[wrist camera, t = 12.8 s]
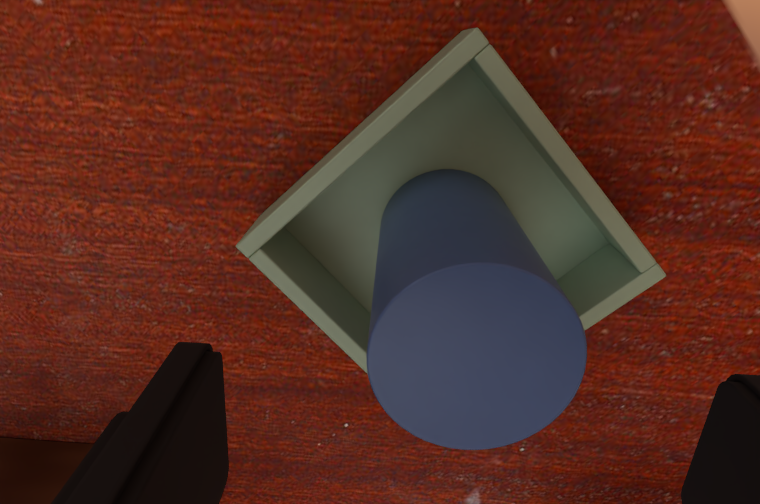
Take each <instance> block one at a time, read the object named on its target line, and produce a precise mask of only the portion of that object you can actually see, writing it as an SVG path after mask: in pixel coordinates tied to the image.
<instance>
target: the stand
mask: <svg viewBox="0 0 760 504" xmlns="http://www.w3.org/2000/svg"><path fill="white" fill-rule="evenodd" d="M93 445H94V444H86V443H72V442H58V441H44V440H31V439H17V438H3V437H0V504H51V503H52V501H53V500H54V498H55V497H56V496H57V494H58V493H59V492H60V490H61V489H62V488H63V486H64V485H65V483H66V482H67V481H68V479H69V478H70V477H71V475H72V474H73V472H74V471H75V470H76V468H77V467H78V466H79V464H80V463H81V461H82V460H83V459H84V457H85V456H86V455H87V453H88V452H89V451H90V449H91V448H92V446H93Z"/></svg>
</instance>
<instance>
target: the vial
mask: <svg viewBox="0 0 760 504" xmlns="http://www.w3.org/2000/svg"><path fill="white" fill-rule="evenodd" d="M366 357H367V372H368V377H369V381H370V384H371V387H372V390H373V392H374V394H375V396H376V398H377V400H378V402H379V403H380V404H381V406H382V407H383V409H384V410H385V412H386V413H387V414H388V415H389V416H390V417H391V418H392V419H393V420H394V421H395V422H396V423H397V424H399V425H400V426H401V427H402V428H403V429H405V430H406V431H408V432H410V433H411V434H413V435H414V436H416V437H419V438H421V439H423V440H425V441H427V442H430V443H433V444H436V445H439V446H444V447H448V448H454V449H462V450H481V449H491V448H496V447H502V446H505V445H509V444H512V443H515V442H518V441H520V440H523V439H525V438H528V437H529V436H531V435H533V434H535V433H537V432H539V431H540V430H542V429H543V428H544V427H546V426H547V425H549V424H550V423H551V422H552V421H553V420H555V419H556V418H557V417H558V416H559V415H560V414H561V413H562V412H563V411H564V409H565V408H566V407H567V406H568V405H569V403H570V402H571V400H572V399H573V397H574V396H575V394H576V392H577V390H578V388H579V386H580V384H581V381H582V378H583V375H584V372H585V366H586V360H587V343H586V337H585V332H584V328H583V325H582V322H581V320H580V318H579V316H578V314H577V312H576V310H575V308H574V307H573V305H572V304H571V302H570V301H569V299H568V298H567V296H566V295H565V293H564V292H563V290H562V289H561V287H560V286H559V284H558V282H557V281H556V279H555V278H554V276H553V275H552V273H551V272H550V270H549V269H548V267H547V266H546V264H545V263H544V261H543V260H542V258H541V257H540V255H539V254H538V252H537V251H536V249H535V248H534V246H533V245H532V243H531V241H530V240H529V238H528V237H527V235H526V234H525V232H524V231H523V229H522V228H521V226H520V225H519V223H518V222H517V220H516V219H515V217H514V216H513V214H512V213H511V211H510V210H509V208H508V207H507V205H506V203H505V202H504V200H503V199H502V198H501V196H500V195H499V193H498V192H497V191H496V190H495V189H494V188H493V187H492V186H491V185H490V184H489V183H488V182H486V181H485V180H483V179H482V178H480V177H478V176H476V175H474V174H471V173H469V172H465V171H461V170H454V169H441V170H433V171H430V172H426V173H423V174H421V175H418V176H416V177H414V178H413V179H411V180H409V181H408V182H406V183H405V184H404V185H402V186H401V187H400V188H399V189H398V190H397V191H396V192H395V194H394V195H393V196H392V197H391V199H390V200H389V202H388V204H387V206H386V208H385V210H384V213H383V216H382V220H381V226H380V234H379V243H378V253H377V262H376V271H375V280H374V290H373V299H372V308H371V317H370V327H369V336H368V345H367V354H366Z"/></svg>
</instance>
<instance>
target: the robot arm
mask: <svg viewBox="0 0 760 504" xmlns="http://www.w3.org/2000/svg"><path fill="white" fill-rule="evenodd" d="M228 469H229V461H228V444H227V428H226V411H225V395H224V378H223V362H222V355H221V353H220V352H213V349H212V346H211V345H210V344H207V343H190V342H178V343H177V344H176V345H175V347H174V348H173V349H172V351H171V352H170V354H169V355H168V357H167V358H166V359H165V361H164V362H163V364H162V365H161V367H160V368H159V369H158V371H157V372H156V374H155V375H154V377H153V378H152V379H151V381H150V382H149V384H148V385H147V387H146V388H145V389H144V391H143V392H142V394H141V395H140V397H139V398H138V399H137V401H136V402H135V404H134V405H133V407H132V408H131V409H130V411H129V412H121V413H118V414H117V415H116V416H115V417H114V418H113V419H112V420H111V422H110V423H109V424H108V426H107V427H106V429H105V430H104V431H103V433H102V434H101V435H100V437H99V438H98V440H97V441H96V442H95V444H94V445H93V446H92V448H91V449H90V451H89V452H88V453H87V455H86V456H85V457H84V459H83V460H82V461H81V463H80V464H79V466H78V467H77V468H76V470H75V471H74V472H73V474H72V475H71V477H70V478H69V479H68V481H67V482H66V483H65V485H64V486H63V488H62V489H61V490H60V492H59V493H58V494H57V496H56V497H55V498H54V500H53V501H52V503H51V504H219V502H220V499H221V496H222V493H223V491H224V488H225V485H226V481H227V477H228ZM681 499H682V504H760V375H743V374H734V375H731V376H730V377H729V378H728V379H727V380H726V381H725V382H722V383H721V384H720V385H719V386H718V388H717V391H716V394H715V397H714V399H713V402H712V405H711V408H710V411H709V414H708V416H707V419H706V422H705V425H704V428H703V431H702V433H701V436H700V439H699V442H698V445H697V448H696V450H695V453H694V456H693V459H692V462H691V465H690V467H689V470H688V473H687V476H686V479H685V482H684V484H683V487H682V491H681Z"/></svg>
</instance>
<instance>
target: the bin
mask: <svg viewBox="0 0 760 504" xmlns="http://www.w3.org/2000/svg"><path fill="white" fill-rule="evenodd" d="M441 169H454V170H461V171H465V172H469V173H471V174H474V175H476V176H478V177H480V178H482V179H483V180H485V181H486V182H488V183H489V184H490V185H491V186H492V187H493V188H494V189H495V190H496V191H497V192H498V193H499V195H500V196H501V198H502V199H503V200H504V202H505V203H506V205H507V207H508V208H509V210H510V211H511V213H512V214H513V216H514V217H515V219H516V220H517V222H518V223H519V225H520V226H521V228H522V229H523V231H524V232H525V234H526V235H527V237H528V238H529V240H530V241H531V243H532V245H533V246H534V248H535V249H536V251H537V252H538V254H539V255H540V257H541V258H542V260H543V261H544V263H545V264H546V266H547V267H548V269H549V270H550V272H551V273H552V275H553V276H554V278H555V279H556V281H557V282H558V284H559V286H560V287H561V289H562V290H563V292H564V293H565V295H566V296H567V298H568V299H569V301H570V302H571V304H572V305H573V307H574V308H575V310H576V312H577V314H578V316H579V318H580V320H581V322H582V325H583V328H584V331H585V330H586V329H588V328H589V327H591V326H592V325H594V324H595V323H597V322H598V321H600V320H601V319H603V318H604V317H606V316H607V315H609V314H610V313H612V312H613V311H615V310H616V309H618V308H619V307H621V306H622V305H624V304H625V303H627V302H628V301H630V300H631V299H633V298H634V297H636V296H637V295H639V294H640V293H642V292H643V291H645V290H646V289H648V288H649V287H651V286H652V285H654V284H655V283H657V282H658V281H660V280H661V279H663V278H664V277H666V274H665V272H664V271H663V270H662V268H661V267H660V266H659V264H658V263H656V261H655V259H654V258H653V257H652V255H651V254H650V253H649V251H648V250H647V249H646V247H645V246H644V245H643V244H642V242H641V241H640V240H639V238H638V237H637V236H636V234H635V233H634V232H633V230H632V229H631V228H630V226H629V225H628V224H627V223H626V221H625V220H624V219H623V217H622V216H621V215H620V213H619V212H618V211H617V209H616V208H615V207H614V205H613V204H612V203H611V202H610V200H609V199H608V198H607V196H606V195H605V194H604V192H603V191H602V190H601V188H600V187H599V186H598V184H597V183H596V182H595V180H594V179H593V178H592V177H591V175H590V174H589V173H588V171H587V170H586V169H585V167H584V166H583V165H582V163H581V162H580V161H579V159H578V158H577V157H576V156H575V154H574V153H573V152H572V150H571V149H570V148H569V146H568V145H567V144H566V142H565V141H564V140H563V138H562V137H561V136H560V135H559V133H558V132H557V131H556V129H555V128H554V127H553V125H552V124H551V123H550V121H549V120H548V119H547V117H546V116H545V115H544V114H543V112H542V111H541V110H540V108H539V107H538V106H537V104H536V103H535V102H534V100H533V99H532V98H531V96H530V95H529V94H528V92H527V91H526V90H525V89H524V87H523V86H522V85H521V83H520V82H519V81H518V79H517V78H516V77H515V75H514V74H513V73H512V71H511V70H510V69H509V68H508V66H507V65H506V64H505V62H504V61H503V60H502V58H501V57H500V56H499V54H498V53H497V52H496V50H495V49H494V48H493V47H492V45H490V44H489V42H488V40H487V39H486V37H485V36H484V35H483V33H482V32H481V31H480V29H479V28H472V29H467V30H462V31H461V32H460V33H459V34H458V35H457V36H456V37H455V38H454V39H453V40H451V41H450V42H449V43H448V44H447V45H446V46H445V47H444V48H443V49H442V50H441V51H439V52H438V53H437V54H436V55H435V56H434V57H433V58H432V59H431V60H430V61H428V62H427V63H426V64H425V65H424V66H423V67H422V68H421V69H420V70H419V71H418V72H416V73H415V74H414V75H413V76H412V77H411V78H410V79H409V80H408V81H407V82H406V83H404V84H403V85H402V86H401V87H400V88H399V89H398V90H397V91H396V92H395V93H393V94H392V95H391V96H390V97H389V98H388V99H387V100H386V101H385V102H384V103H383V104H381V105H380V106H379V107H378V108H377V109H376V110H375V111H374V112H373V113H372V114H371V115H369V116H368V117H367V118H366V119H365V120H364V121H363V122H362V123H361V124H360V125H358V126H357V127H356V128H355V129H354V130H353V131H352V132H351V133H350V134H349V135H348V136H346V137H345V138H344V139H343V140H342V141H341V142H340V143H339V144H338V145H337V146H335V147H334V148H333V149H332V150H331V151H330V152H329V153H328V154H327V155H326V156H325V157H323V158H322V159H321V160H320V161H319V162H318V163H317V164H316V165H315V166H314V167H313V168H311V169H310V170H309V171H308V172H307V173H306V174H305V175H304V176H303V177H302V178H300V179H299V180H298V181H297V182H296V183H295V184H294V185H293V186H292V187H291V188H290V189H288V190H287V191H286V192H285V193H284V194H283V195H282V196H281V197H280V198H279V199H278V200H276V201H275V202H274V203H273V204H272V205H271V206H270V207H269V208H268V209H267V210H265V211H264V212H263V213H262V214H261V215H260V216H259V218H258V219H257V220H256V221H255V223H254V224H253V225H252V226H251V228H250V229H249V230H248V231H247V232H246V234H245V235H244V236H243V237H242V239H241V240H240V241H239V242H238V244H237V245H236V247H237V248H238V249H239V250H240V251H241V252H242V253H243V254H244V255H245V256H246V257H247V258H249V260H250V261H251V262H252V263H253V264H254V265H255V266H256V267H257V268H258V269H259V270H260V271H261V272H262V273H263V274H265V275H266V276H267V277H268V278H269V279H270V280H271V281H272V282H273V283H274V284H275V285H276V286H277V287H278V288H279V289H280V290H281V291H282V292H283V293H284V294H285V295H286V296H287V297H288V298H289V299H290V300H291V301H293V302H294V303H295V304H296V305H297V306H298V307H299V308H300V309H301V310H302V311H303V312H304V313H305V314H306V315H307V316H308V317H309V318H310V319H311V320H312V321H313V322H314V323H315V324H316V325H317V326H318V327H320V328H321V329H322V330H323V331H324V332H325V333H326V334H327V335H328V336H329V337H330V338H331V339H332V340H333V341H334V342H335V343H336V344H337V345H338V346H339V347H340V348H341V349H342V350H343V351H344V352H345V353H346V354H348V355H349V356H350V357H351V358H352V359H353V360H354V361H355V362H356V363H357V364H358V365H359V366H360V367H361V368H362V369H363V370H364V371H365V372H366V373H367V374H368V372H367V357H366V354H367V345H368V336H369V327H370V317H371V308H372V299H373V290H374V280H375V271H376V262H377V253H378V243H379V234H380V226H381V220H382V216H383V213H384V210H385V208H386V206H387V204H388V202H389V200H390V199H391V197H392V196H393V195H394V194H395V192H396V191H397V190H398V189H399V188H400V187H401V186H402V185H404V184H405V183H406V182H408V181H409V180H411V179H413V178H414V177H416V176H418V175H421V174H423V173H426V172H430V171H433V170H441Z"/></svg>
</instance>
